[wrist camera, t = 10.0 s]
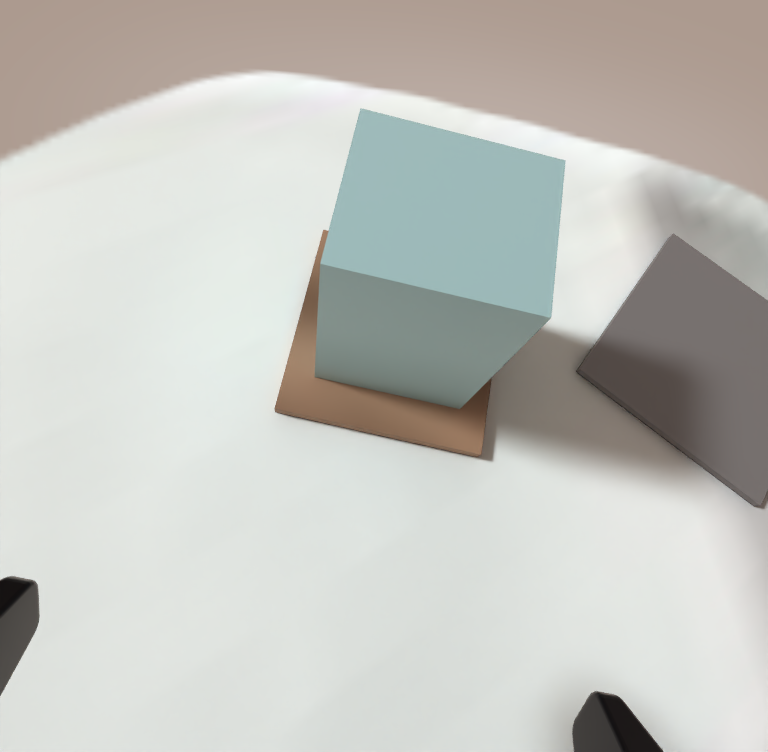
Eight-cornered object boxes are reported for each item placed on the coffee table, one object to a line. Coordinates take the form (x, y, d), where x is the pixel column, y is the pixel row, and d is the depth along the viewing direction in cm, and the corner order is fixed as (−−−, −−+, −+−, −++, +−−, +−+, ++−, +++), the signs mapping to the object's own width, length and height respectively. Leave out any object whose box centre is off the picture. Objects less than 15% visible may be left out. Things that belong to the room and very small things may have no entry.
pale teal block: (460, 409, 24) (550, 317, 15) (314, 376, 24) (319, 263, 15) (475, 299, 26) (565, 160, 17) (341, 267, 26) (360, 108, 17)
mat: (754, 506, 25) (760, 505, 25) (576, 371, 26) (580, 368, 26) (829, 352, 29) (836, 349, 28) (668, 237, 30) (673, 233, 29)
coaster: (477, 457, 24) (481, 454, 24) (275, 412, 24) (274, 408, 23) (501, 280, 27) (505, 274, 27) (323, 236, 27) (323, 229, 26)
